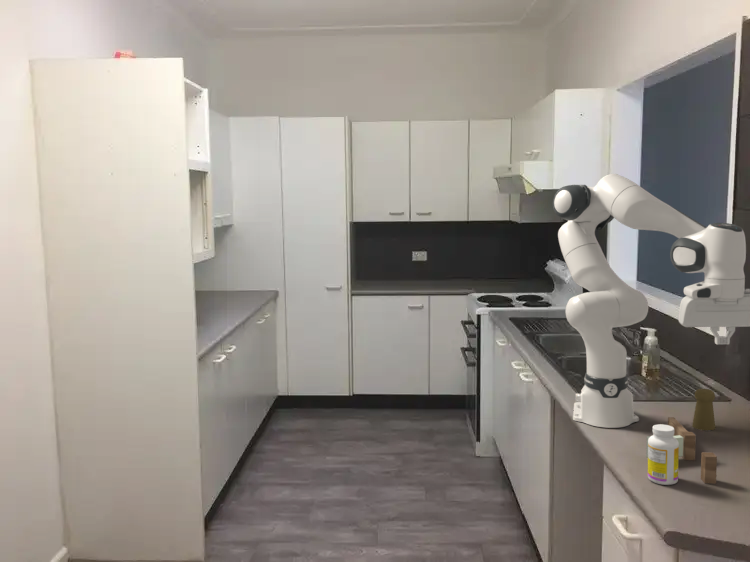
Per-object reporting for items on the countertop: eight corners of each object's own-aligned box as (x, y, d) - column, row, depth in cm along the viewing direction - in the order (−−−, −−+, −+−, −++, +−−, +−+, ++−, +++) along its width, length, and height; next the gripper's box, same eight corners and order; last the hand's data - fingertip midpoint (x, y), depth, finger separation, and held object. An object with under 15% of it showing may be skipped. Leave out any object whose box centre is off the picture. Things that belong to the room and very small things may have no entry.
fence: (665, 438, 182) (666, 415, 181) (675, 438, 182) (675, 415, 181) (704, 483, 154) (705, 456, 153) (716, 483, 154) (716, 456, 153)
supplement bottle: (669, 473, 160) (671, 422, 158) (683, 485, 153) (684, 431, 152) (642, 474, 160) (643, 423, 158) (654, 486, 153) (656, 433, 152)
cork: (695, 421, 194) (696, 385, 192) (717, 425, 190) (719, 388, 189) (689, 427, 189) (690, 390, 188) (712, 432, 185) (714, 394, 184)
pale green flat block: (678, 453, 169) (679, 433, 168) (683, 456, 167) (683, 435, 166) (646, 457, 167) (646, 436, 167) (650, 460, 165) (651, 439, 165)
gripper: (762, 286, 166) (760, 340, 167) (677, 288, 168) (675, 341, 170) (774, 290, 159) (772, 346, 161) (685, 291, 162) (684, 347, 164)
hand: (722, 344), depth 166 cm, fingers closed
